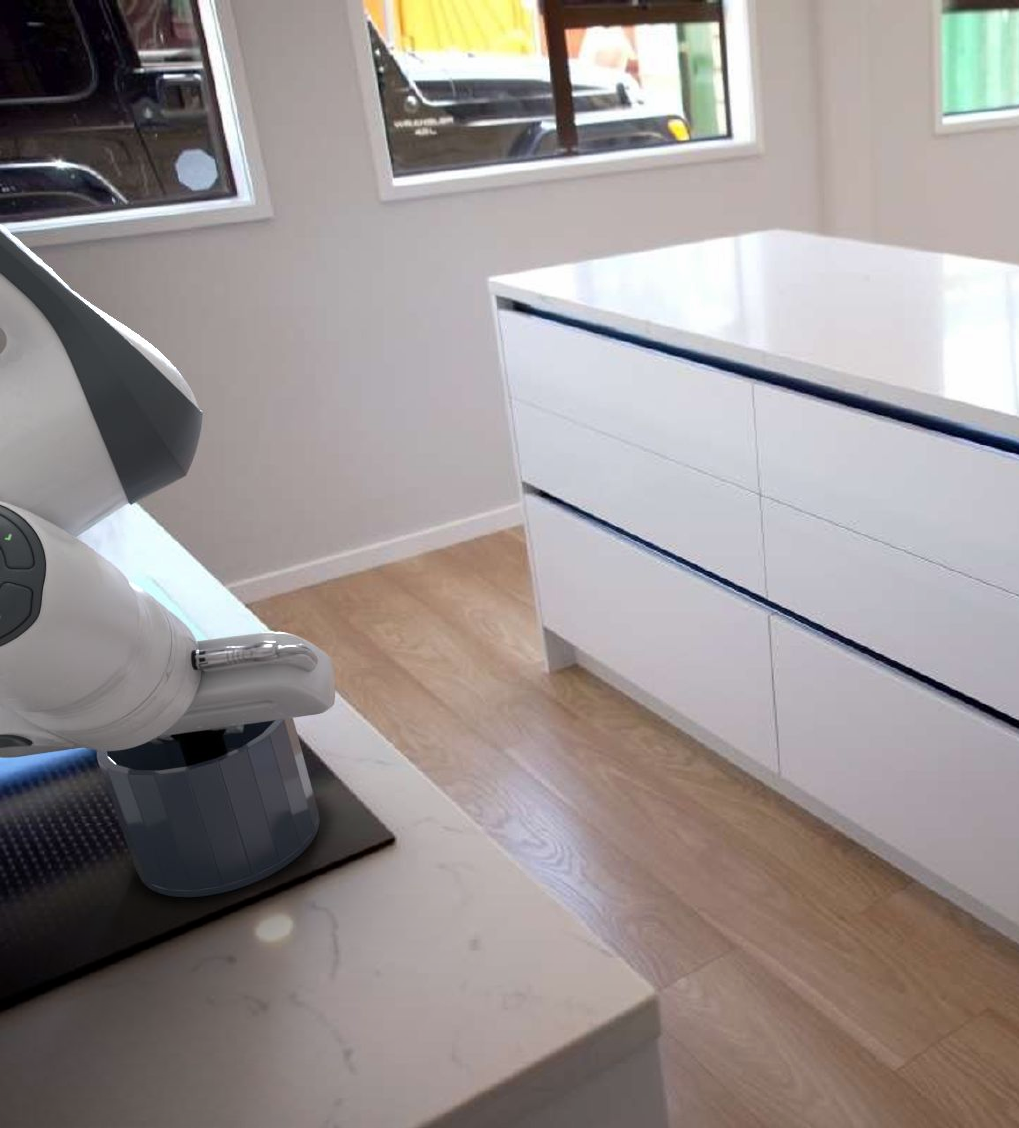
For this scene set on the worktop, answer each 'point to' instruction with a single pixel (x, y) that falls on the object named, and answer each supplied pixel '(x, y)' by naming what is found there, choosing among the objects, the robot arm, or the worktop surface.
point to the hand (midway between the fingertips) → (200, 727)
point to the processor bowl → (213, 810)
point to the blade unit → (202, 746)
